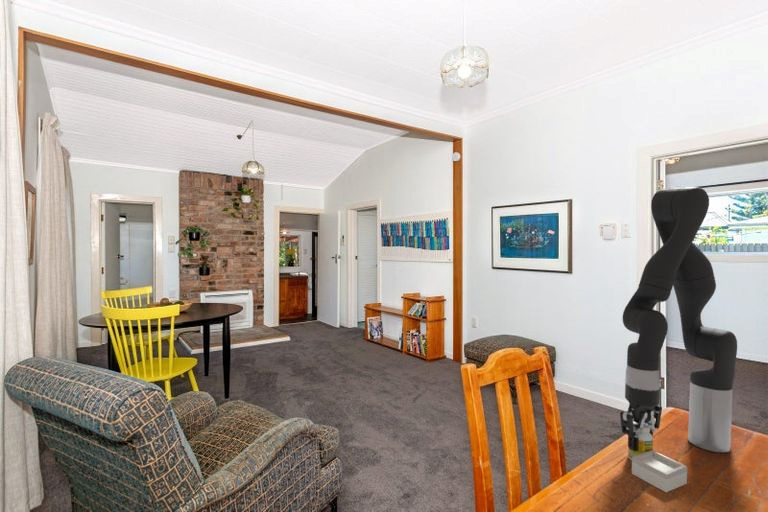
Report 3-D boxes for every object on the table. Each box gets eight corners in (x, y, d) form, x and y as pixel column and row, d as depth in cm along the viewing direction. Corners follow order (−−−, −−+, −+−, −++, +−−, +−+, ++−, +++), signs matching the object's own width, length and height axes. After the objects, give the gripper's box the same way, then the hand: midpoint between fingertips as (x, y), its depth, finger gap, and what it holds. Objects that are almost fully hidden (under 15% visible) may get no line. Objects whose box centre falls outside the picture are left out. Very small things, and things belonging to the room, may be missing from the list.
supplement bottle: (633, 452, 107) (634, 417, 106) (656, 461, 102) (657, 425, 102) (624, 458, 104) (625, 422, 103) (646, 468, 99) (647, 431, 99)
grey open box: (651, 465, 100) (652, 449, 100) (686, 483, 93) (687, 466, 93) (631, 473, 97) (632, 456, 97) (666, 492, 90) (666, 474, 89)
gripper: (644, 375, 108) (642, 435, 109) (610, 383, 102) (608, 446, 103) (674, 384, 102) (672, 448, 102) (639, 393, 96) (637, 460, 96)
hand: (640, 447), depth 103 cm, fingers closed on supplement bottle, 5 cm apart
